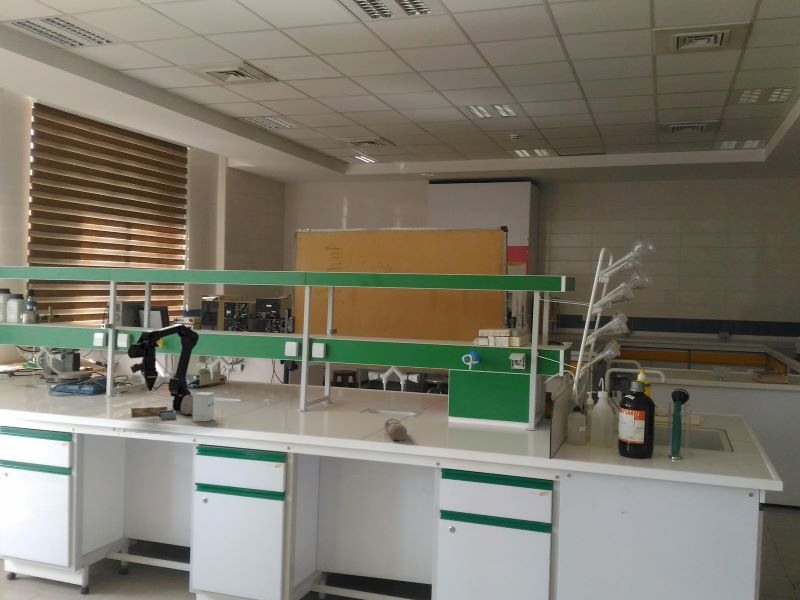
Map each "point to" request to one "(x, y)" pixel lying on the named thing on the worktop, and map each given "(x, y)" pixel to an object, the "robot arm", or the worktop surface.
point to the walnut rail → (147, 410)
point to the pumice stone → (187, 405)
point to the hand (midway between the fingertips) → (149, 389)
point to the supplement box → (203, 406)
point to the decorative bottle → (395, 429)
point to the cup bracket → (167, 414)
